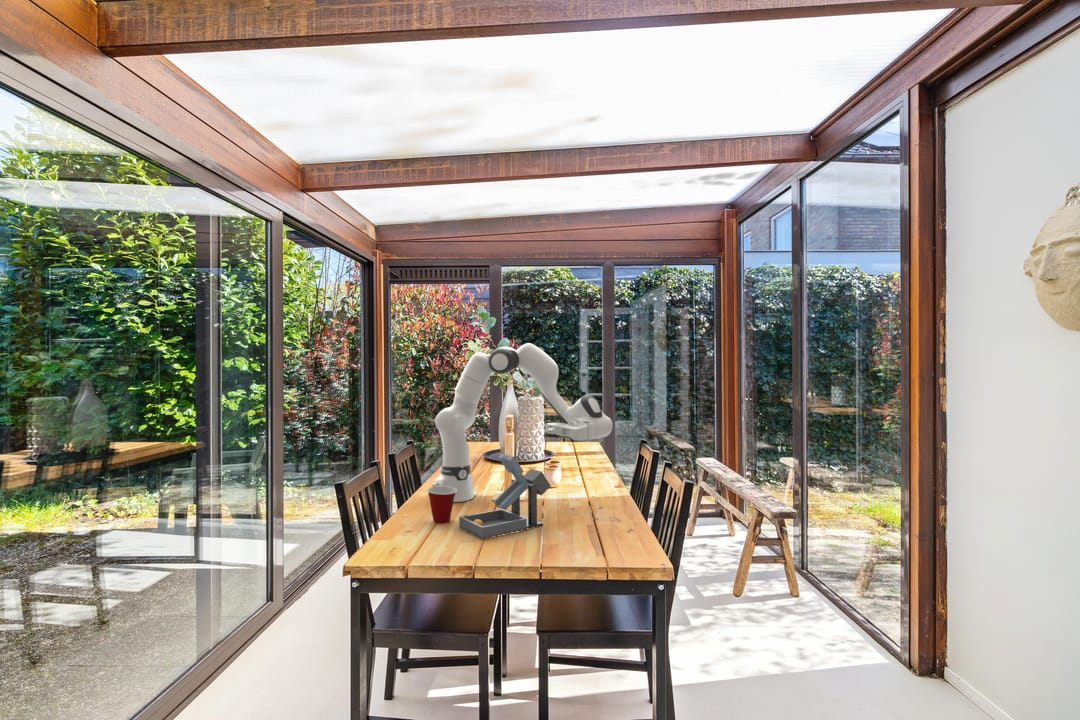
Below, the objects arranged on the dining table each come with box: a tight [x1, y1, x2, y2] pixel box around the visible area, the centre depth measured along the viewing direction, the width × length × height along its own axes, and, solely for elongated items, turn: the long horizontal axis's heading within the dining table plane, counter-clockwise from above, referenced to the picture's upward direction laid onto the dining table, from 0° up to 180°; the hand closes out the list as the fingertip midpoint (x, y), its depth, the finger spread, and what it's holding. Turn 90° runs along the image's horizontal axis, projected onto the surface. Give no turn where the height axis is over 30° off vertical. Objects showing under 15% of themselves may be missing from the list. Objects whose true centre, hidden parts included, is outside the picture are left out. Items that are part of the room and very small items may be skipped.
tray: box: [458, 508, 528, 540], centre depth 204 cm, size 16×18×4 cm
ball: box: [473, 519, 483, 526], centre depth 201 cm, size 4×4×4 cm
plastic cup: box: [426, 486, 457, 524], centre depth 214 cm, size 11×11×12 cm
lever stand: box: [510, 478, 544, 529], centre depth 211 cm, size 14×7×15 cm, turn 35°
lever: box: [492, 453, 552, 511], centre depth 209 cm, size 8×19×20 cm
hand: (549, 431), depth 224 cm, fingers closed
